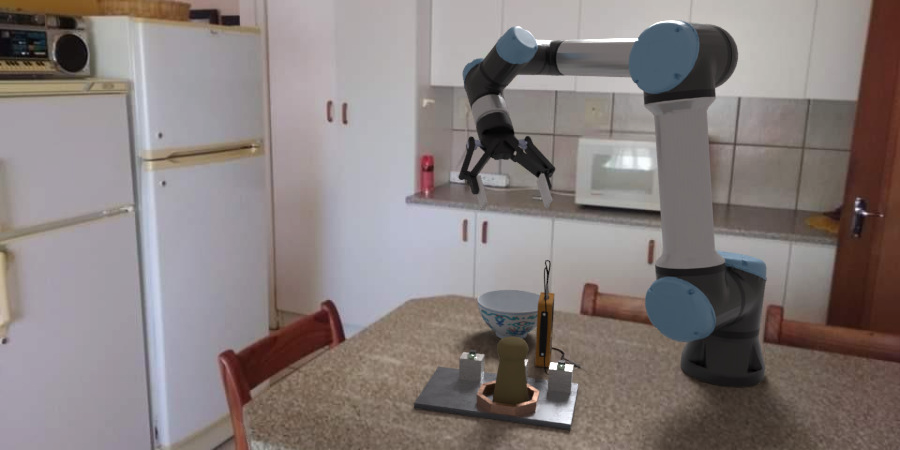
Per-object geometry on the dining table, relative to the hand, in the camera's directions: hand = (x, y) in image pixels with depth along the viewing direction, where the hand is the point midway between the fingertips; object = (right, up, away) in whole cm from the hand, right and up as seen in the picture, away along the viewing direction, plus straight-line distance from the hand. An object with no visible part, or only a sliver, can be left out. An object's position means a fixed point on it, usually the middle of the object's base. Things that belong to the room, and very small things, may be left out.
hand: (516, 205), depth 141 cm
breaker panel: (-5, -34, -16) cm, 38 cm away
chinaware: (0, -28, +14) cm, 31 cm away
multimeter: (+9, -31, -1) cm, 32 cm away
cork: (-3, -34, -19) cm, 39 cm away
